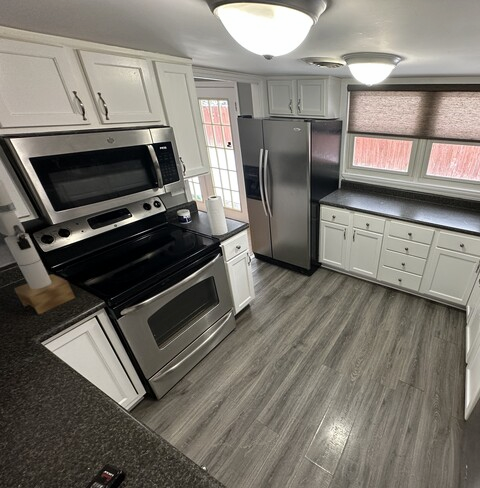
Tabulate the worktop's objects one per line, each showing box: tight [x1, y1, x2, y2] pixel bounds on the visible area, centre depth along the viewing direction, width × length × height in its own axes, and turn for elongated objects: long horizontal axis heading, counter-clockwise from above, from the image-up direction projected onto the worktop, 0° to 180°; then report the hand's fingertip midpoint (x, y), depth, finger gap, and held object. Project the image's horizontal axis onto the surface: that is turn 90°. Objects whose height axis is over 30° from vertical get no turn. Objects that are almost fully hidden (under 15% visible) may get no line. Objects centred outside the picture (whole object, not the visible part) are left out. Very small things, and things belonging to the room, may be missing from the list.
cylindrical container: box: [3, 232, 52, 289], centre depth 119 cm, size 7×7×25 cm
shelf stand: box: [13, 273, 76, 315], centre depth 127 cm, size 14×14×10 cm
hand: (21, 246), depth 116 cm, fingers closed on cylindrical container, 7 cm apart
